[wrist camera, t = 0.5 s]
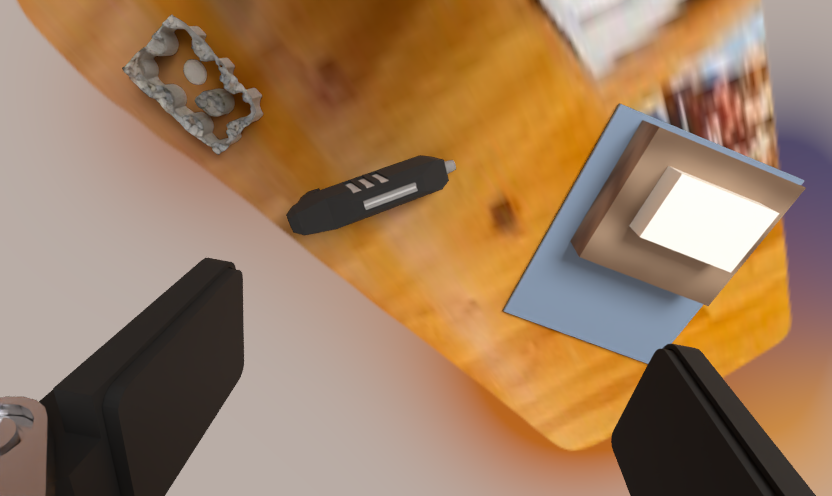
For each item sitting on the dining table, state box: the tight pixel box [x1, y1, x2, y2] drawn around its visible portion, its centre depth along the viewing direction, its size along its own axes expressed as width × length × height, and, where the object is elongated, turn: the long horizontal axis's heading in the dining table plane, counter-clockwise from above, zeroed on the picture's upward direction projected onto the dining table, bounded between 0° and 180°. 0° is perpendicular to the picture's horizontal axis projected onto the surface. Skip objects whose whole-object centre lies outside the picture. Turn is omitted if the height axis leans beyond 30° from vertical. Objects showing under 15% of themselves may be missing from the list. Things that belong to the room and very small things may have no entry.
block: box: [570, 120, 805, 306], centre depth 40 cm, size 13×14×4 cm
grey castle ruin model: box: [122, 15, 263, 155], centre depth 39 cm, size 11×8×4 cm
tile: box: [629, 166, 780, 272], centre depth 37 cm, size 6×9×2 cm, turn 70°
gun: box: [286, 155, 456, 235], centre depth 41 cm, size 3×16×10 cm, turn 105°
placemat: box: [503, 104, 804, 364], centre depth 44 cm, size 24×19×1 cm
